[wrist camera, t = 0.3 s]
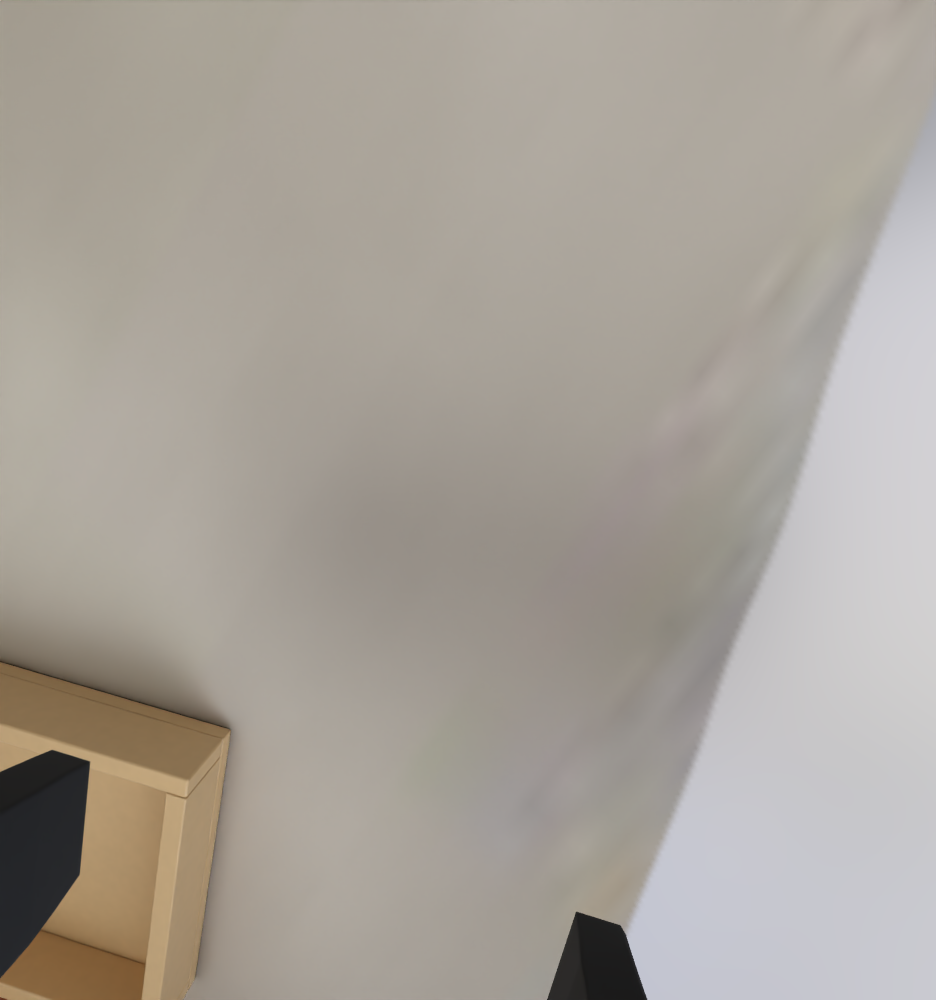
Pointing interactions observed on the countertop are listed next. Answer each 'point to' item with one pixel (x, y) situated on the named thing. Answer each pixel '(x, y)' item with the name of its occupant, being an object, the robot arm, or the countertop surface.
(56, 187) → the countertop surface
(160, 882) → the tray
